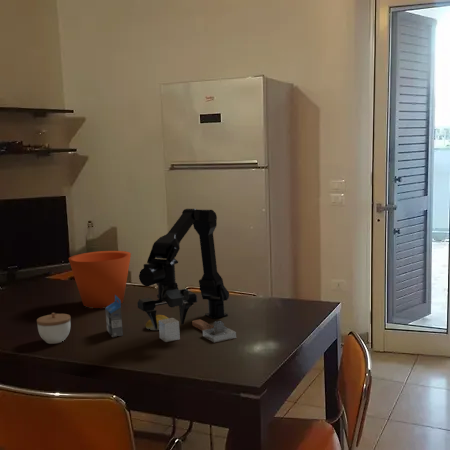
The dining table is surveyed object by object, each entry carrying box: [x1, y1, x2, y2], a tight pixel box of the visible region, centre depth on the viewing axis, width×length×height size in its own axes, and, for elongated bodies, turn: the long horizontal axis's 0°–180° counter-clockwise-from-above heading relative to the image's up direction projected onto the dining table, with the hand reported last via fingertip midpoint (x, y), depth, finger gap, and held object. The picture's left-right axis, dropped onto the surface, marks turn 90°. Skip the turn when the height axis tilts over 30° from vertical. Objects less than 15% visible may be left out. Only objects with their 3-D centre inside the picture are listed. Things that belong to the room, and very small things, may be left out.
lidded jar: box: [36, 312, 72, 345], centre depth 193 cm, size 11×11×9 cm
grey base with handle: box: [191, 318, 237, 343], centre depth 195 cm, size 21×8×5 cm, turn 29°
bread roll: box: [145, 314, 170, 331], centre depth 204 cm, size 8×9×4 cm
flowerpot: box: [68, 250, 132, 309], centre depth 239 cm, size 25×25×20 cm
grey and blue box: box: [104, 295, 124, 338], centre depth 198 cm, size 9×4×12 cm, turn 23°
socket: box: [158, 317, 181, 343], centre depth 190 cm, size 5×5×6 cm
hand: (169, 326), depth 190 cm, fingers open, 9 cm apart
